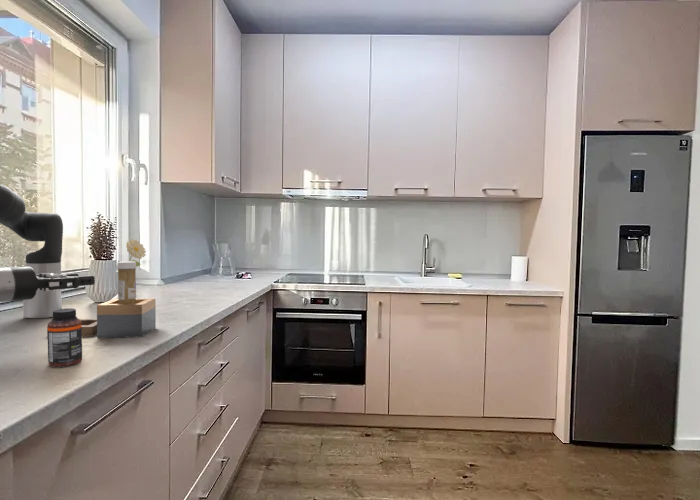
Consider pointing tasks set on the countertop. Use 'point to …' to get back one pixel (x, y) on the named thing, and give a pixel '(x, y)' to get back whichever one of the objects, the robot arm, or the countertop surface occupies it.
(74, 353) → the supplement bottle
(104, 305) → the grey wooden square box
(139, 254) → the flower in vase
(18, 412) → the countertop surface
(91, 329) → the walnut stand
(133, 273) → the seasoning jar
